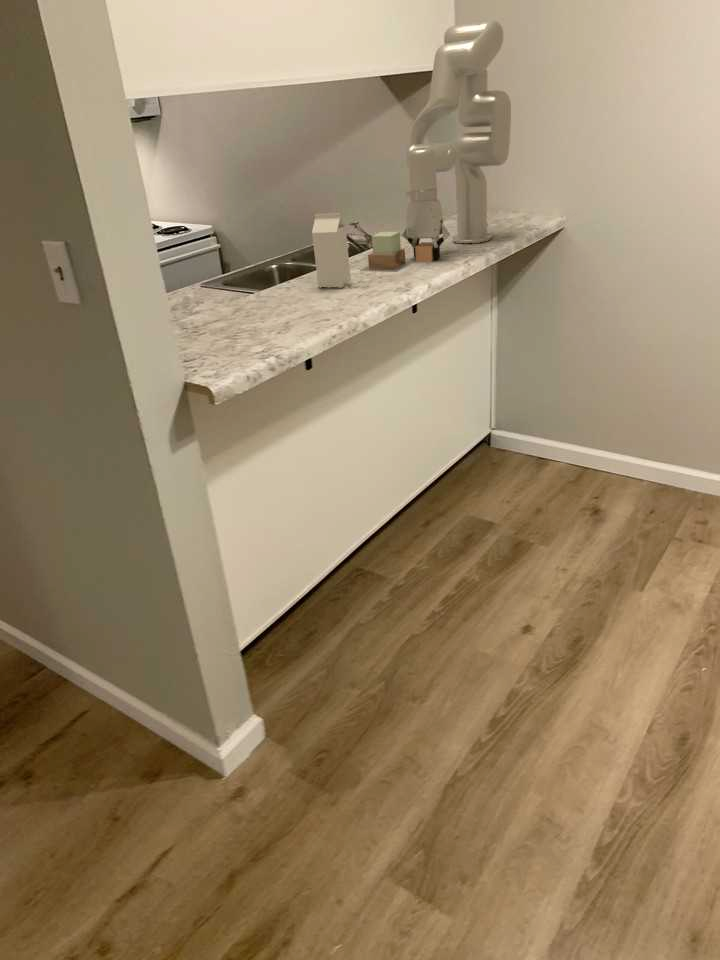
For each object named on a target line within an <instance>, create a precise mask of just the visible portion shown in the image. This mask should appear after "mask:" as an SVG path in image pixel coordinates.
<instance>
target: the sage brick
mask: <svg viewBox="0 0 720 960" xmlns="http://www.w3.org/2000/svg"><path fill="white" fill-rule="evenodd" d="M400 232H401V231H380V232H378V233H375V234H373V235H372V236H371V242H372V243H371V245H372V252H373V254H394V253H395V252H397V251H399V250H401V249H402V248H401V234H400Z"/></svg>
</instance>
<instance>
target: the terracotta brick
mask: <svg viewBox="0 0 720 960" xmlns="http://www.w3.org/2000/svg"><path fill="white" fill-rule="evenodd" d="M433 248H434V245H433V242H432V241H431V242H429V241H428V242H427V241H423V242H419V244H418V245H417V246H415V253H416V261H415V262H418V263H420V262H421V263H422V262H423V263H424V262H425V263H433V262H434V261H433V251H432V249H433Z"/></svg>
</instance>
